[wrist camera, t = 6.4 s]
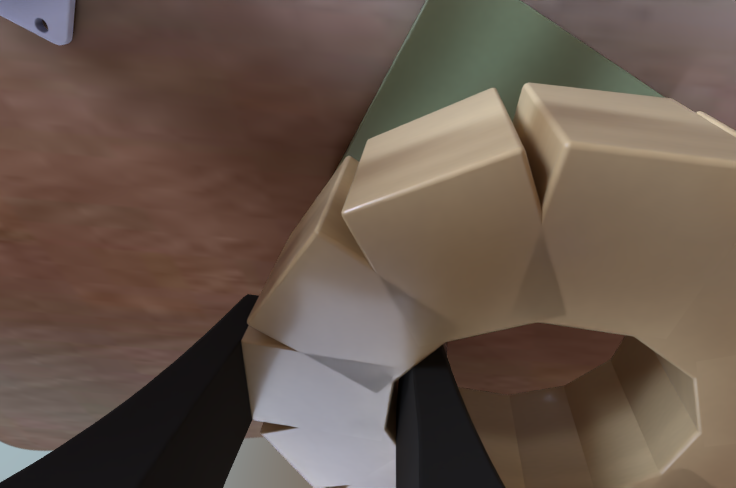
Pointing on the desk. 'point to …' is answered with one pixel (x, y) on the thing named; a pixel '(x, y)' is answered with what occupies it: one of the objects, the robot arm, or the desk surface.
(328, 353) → the ring
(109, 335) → the desk surface
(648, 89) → the stand
